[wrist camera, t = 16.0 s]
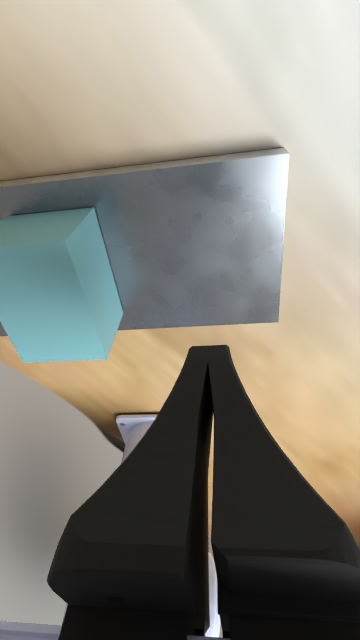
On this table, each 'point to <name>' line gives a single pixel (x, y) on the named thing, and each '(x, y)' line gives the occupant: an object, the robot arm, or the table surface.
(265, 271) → the press bed
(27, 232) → the block
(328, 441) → the table surface
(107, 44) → the table surface
